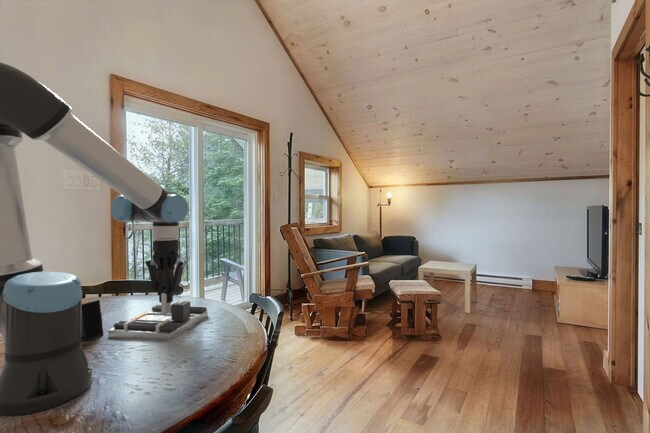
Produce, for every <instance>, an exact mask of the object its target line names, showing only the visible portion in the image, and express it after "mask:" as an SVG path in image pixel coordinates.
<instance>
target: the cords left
mask: <svg viewBox="0 0 650 433" xmlns="http://www.w3.org/2000/svg"><path fill="white" fill-rule="evenodd" d="M132 319H133V318H132ZM130 320H131V319H130ZM130 320H128V321H127V320H119V321H118V322H114V324H113V328H124V330H127V329H143V330H156V332H159V331H160V330H161V331H174V330H175V329H177V328H178V324H170V323H167V321H163V322H161V323H151V322H136V319H133V320H131V321H130Z"/></svg>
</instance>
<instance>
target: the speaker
mask: <svg viewBox="0 0 650 433" xmlns="http://www.w3.org/2000/svg"><path fill="white" fill-rule="evenodd" d="M100 301H101V300H100V299H97V300H92V301H91V302H90V301H89V302H85V303H82V325H81V338H83V341H84V342H88V341H90V340H94V339H97V338H99V337H102V336H104V329H103V328H104V327H103V315H102V311H101V302H100Z"/></svg>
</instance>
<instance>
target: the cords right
mask: <svg viewBox="0 0 650 433" xmlns="http://www.w3.org/2000/svg"><path fill="white" fill-rule="evenodd" d="M206 310H208V308H207V307H205V306H190V313H203V312H204V311H206ZM151 311H161V304H156V305H155V306H152V307H151Z"/></svg>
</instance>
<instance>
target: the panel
mask: <svg viewBox="0 0 650 433" xmlns="http://www.w3.org/2000/svg"><path fill="white" fill-rule="evenodd" d="M208 311H209V310H208V309H207V310H206V311H204V312H203V313H190V317H189V318H188V319H186V320H184V321H174V320H171V312H169V313H167V314H161V311H152V310H150V311H148V312H146V313H142V314H140V315H137V316H134V317H132V318H131V319H130V320H129V321H131V320H133V319H136V322H151V323H161V322H163V321H167V323H170V324H178V328H177V329H175V330H174V331H161V330H160V331H159V332H156V330H143V329H127V330H124V328H114V327H112V328H110V329H109V330H108V331H107V333H108V334H107V335H108V338H117V339H119V338H120V339H132V340H133V339H134V340H136V339H137V340H152V341H166V342H167V341H168V342H170V341H172V340H173V339H175V338H176V337H178V336H180V334H183V333H184V332H185V331H187V330H188V329H190V328H191V327H193V326H195V325H196V324H198V323H199V322H201V321H203V320H204V319H206V318H207V317H208V316H209V314H208V313H209V312H208Z"/></svg>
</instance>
